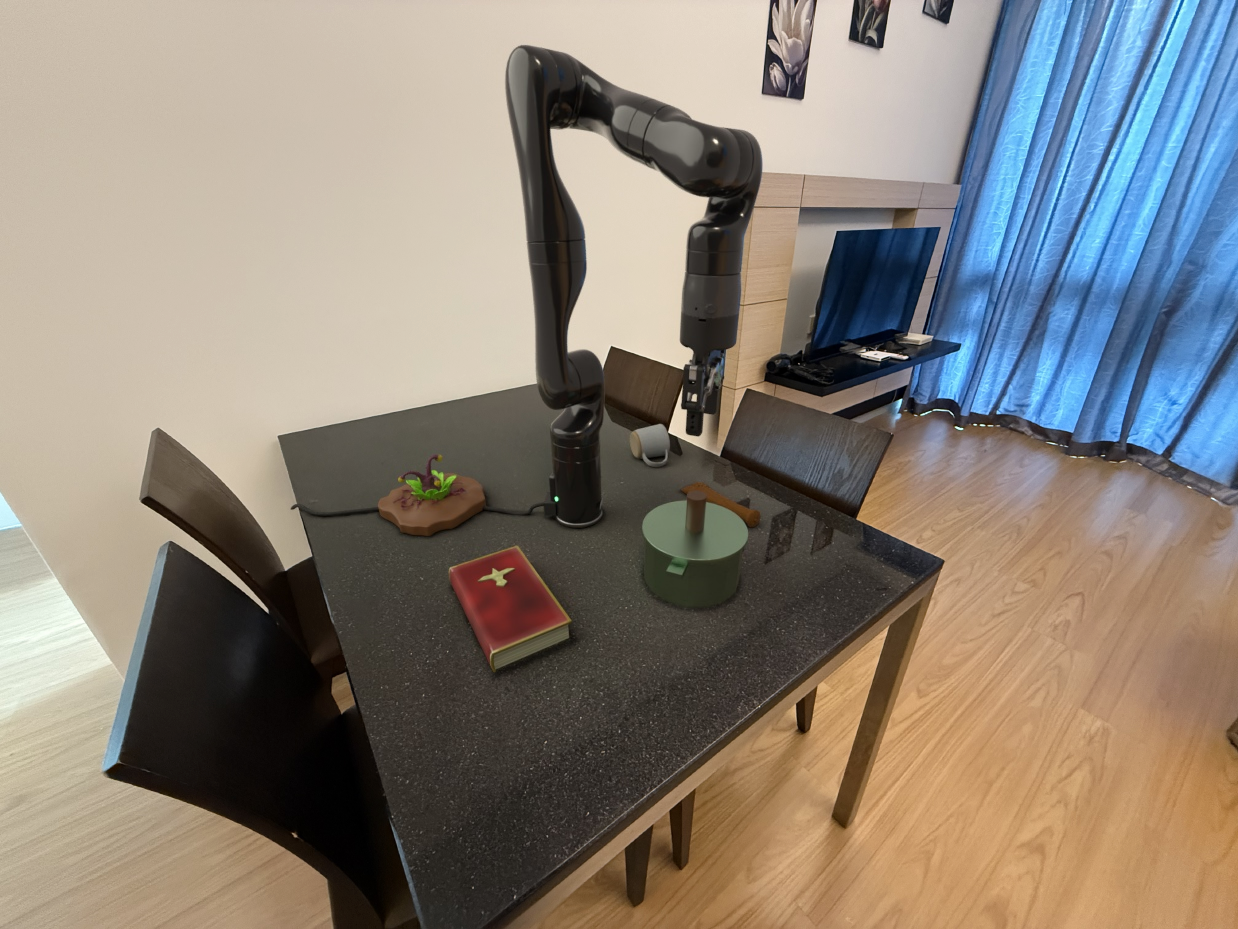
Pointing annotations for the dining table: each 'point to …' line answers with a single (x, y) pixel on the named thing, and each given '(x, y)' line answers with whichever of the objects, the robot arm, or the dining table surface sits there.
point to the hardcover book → (508, 606)
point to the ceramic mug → (650, 444)
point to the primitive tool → (726, 503)
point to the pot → (691, 579)
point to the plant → (432, 501)
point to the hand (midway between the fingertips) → (701, 423)
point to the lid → (695, 530)
